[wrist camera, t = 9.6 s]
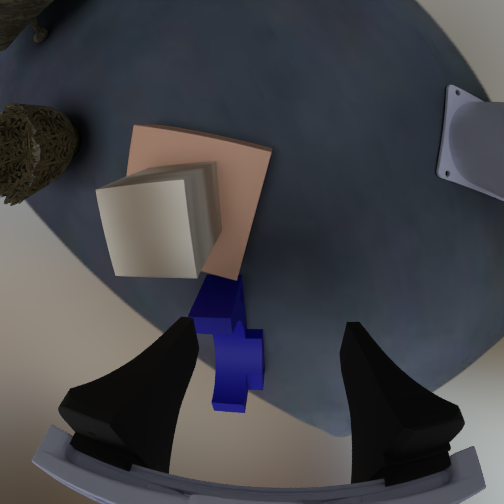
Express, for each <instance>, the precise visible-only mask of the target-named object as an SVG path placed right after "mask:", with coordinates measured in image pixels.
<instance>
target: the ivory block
mask: <svg viewBox="0 0 504 504" xmlns="http://www.w3.org/2000/svg"><path fill="white" fill-rule="evenodd" d="M96 195H97V200H98V205H99V210H100V215H101V220H102V224H103V229H104V233H105V237H106V241H107V245H108V249H109V253H110V257H111V261H112V264H113V268H114V271H115V275H116V276H135V277H165V278H198V276H199V274H200V272H201V270H202V268H203V266H204V264H205V262H206V260H207V258H208V257H209V255H210V253H211V251H212V249H213V247H214V245H215V243H216V241H217V239H218V237H219V236H220V234H221V232H222V224H221V213H220V201H219V190H218V177H217V165H216V161H208V162H196V163H185V164H175V165H166V166H158V167H150V168H147V169H144V170H141V171H139V172H136V173H134V174H131V175H129V176H126V177H124V178H122V179H119V180H117V181H114V182H112V183H110V184H108V185H105V186H103V187H101V188H99V189H96Z"/></svg>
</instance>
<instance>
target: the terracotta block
mask: <svg viewBox="0 0 504 504" xmlns="http://www.w3.org/2000/svg"><path fill="white" fill-rule="evenodd" d="M272 149H273V148H270V147H266V146H262V145H258V144H255V143H250V142H246V141H242V140H238V139H234V138H229V137H225V136H220V135H215V134H210V133H205V132H200V131H195V130H190V129H184V128H178V127H172V126H166V125H159V124H147V125H134V128H133V134H132V140H131V147H130V153H129V161H128V168H127V176H129V175H131V174H134V173H136V172H139V171H141V170H144V169H147V168H150V167H158V166H166V165H175V164H185V163H196V162H208V161H216V165H217V177H218V190H219V201H220V213H221V224H222V232H221V234H220V236H219V237H218V239H217V241H216V243H215V245H214V247H213V249H212V251H211V253H210V255H209V257H208V258H207V260H206V262H205V264H204V266H203V268H202V270H201V271H203V272H207V273H210V274H214V275H217V276H221V277H225V278H228V279H232V280H236V281H237V278H238V275H239V271H240V267H241V264H242V260H243V256H244V252H245V249H246V245H247V241H248V238H249V234H250V230H251V226H252V223H253V219H254V215H255V212H256V208H257V204H258V200H259V197H260V193H261V189H262V186H263V182H264V178H265V175H266V171H267V167H268V164H269V160H270V156H271V153H272Z"/></svg>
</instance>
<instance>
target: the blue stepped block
mask: <svg viewBox="0 0 504 504" xmlns="http://www.w3.org/2000/svg"><path fill="white" fill-rule="evenodd" d="M188 317H190V318H193V319H194V325H195V330H196V333H201V334H213V338H214V344H215V355H216V373H215V386H214V393H213V398H212V405H213V408H214V410H215V411H225V412H239V413H245V409H246V402H247V394H248V389H250V390H263V384H264V373H265V365H264V346H263V329H247V325H246V315H245V304H244V294H243V283H242V275H238V278H237V281H236V280H232V279H228V278H225V277H221V276H217V275H207V276H206V278H205V280H204V283H203V285H202V287H201V289H200V291H199V293H198V296H197V298H196V300H195V302H194V304H193V306H192V309H191V311H190V313H189V315H188Z"/></svg>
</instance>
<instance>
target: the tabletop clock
mask: <svg viewBox="0 0 504 504" xmlns="http://www.w3.org/2000/svg"><path fill="white" fill-rule="evenodd" d="M53 1H54V0H0V51H3V50H5V49H7V48H8V46H9V45H10V44H11V43H12V42H13V41H14V40H15V38H16V37H17V36H18V35H19V34H20V33H21V32H22V31H23V30H24V29H25V28H26V27H27V26H28V24H30V25H31V27H32V28H33V29H34V30H35V32H36V33H35V34H34V37H33V39H34V41H35V42H42V41H44V40H45V39H46V37H47V34H48V32H47V30H46V29H45V28H44V29H40V27H39V25H38V22H37V19H36V16H38V15H39V14H40V13H41V12H42V11H43V10H44V9H45V8H46V7H47V6H48V5H49V4H51V3H52V2H53Z"/></svg>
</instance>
